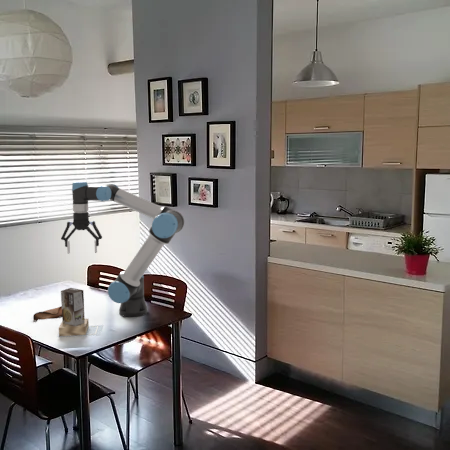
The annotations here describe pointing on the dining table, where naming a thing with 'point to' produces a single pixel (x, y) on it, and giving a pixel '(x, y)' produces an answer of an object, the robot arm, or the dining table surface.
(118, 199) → the robot arm
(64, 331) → the oak plinth
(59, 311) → the sunglasses case
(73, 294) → the coffee box
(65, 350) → the dining table surface
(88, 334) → the board
